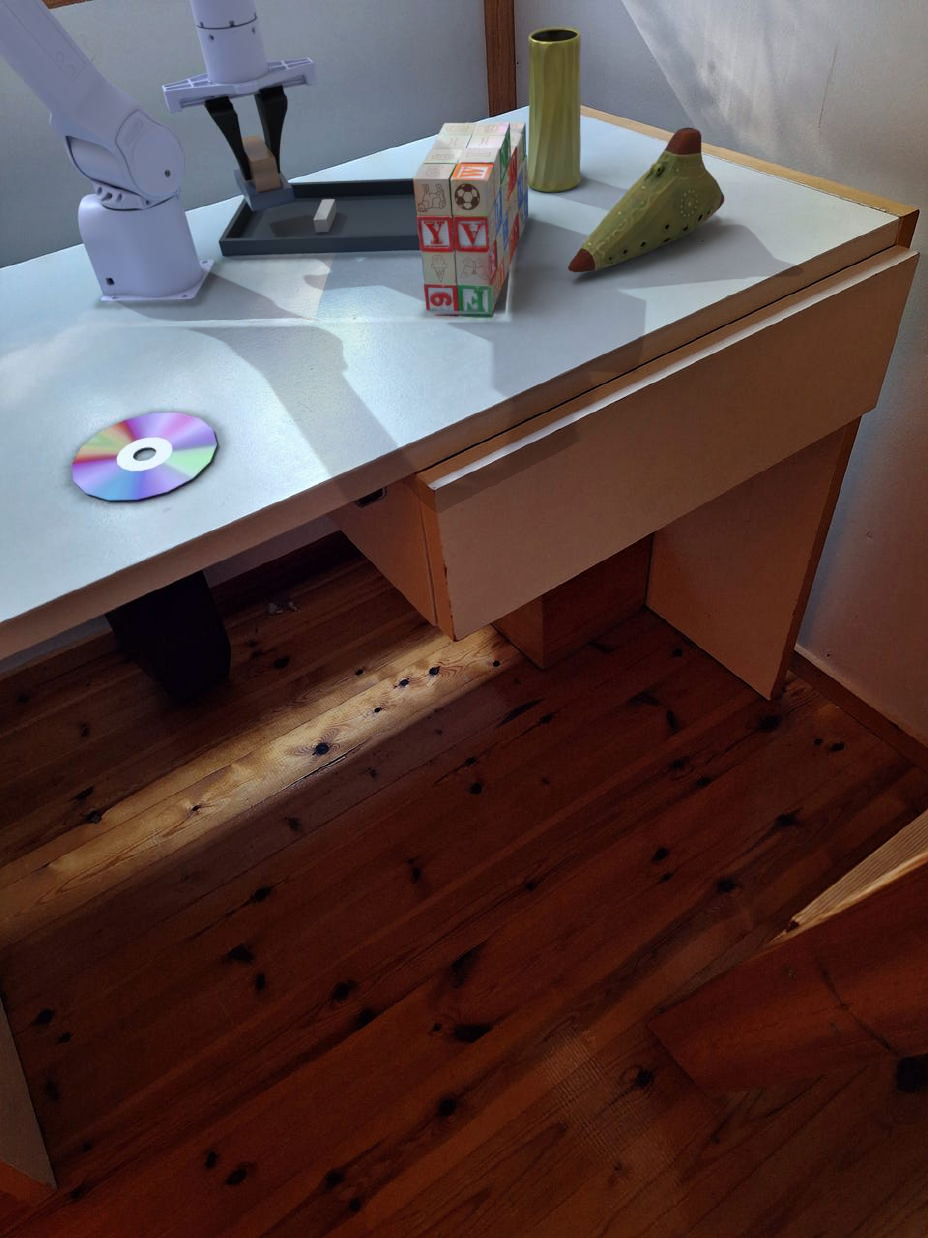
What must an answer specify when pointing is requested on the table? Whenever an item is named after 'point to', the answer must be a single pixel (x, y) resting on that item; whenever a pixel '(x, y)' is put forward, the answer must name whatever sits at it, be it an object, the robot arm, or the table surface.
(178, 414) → the cd
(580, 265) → the ocarina
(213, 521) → the table surface
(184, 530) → the table surface
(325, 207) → the chalk
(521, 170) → the stack of blocks
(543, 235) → the table surface
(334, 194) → the tray
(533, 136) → the vase
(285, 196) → the eraser
